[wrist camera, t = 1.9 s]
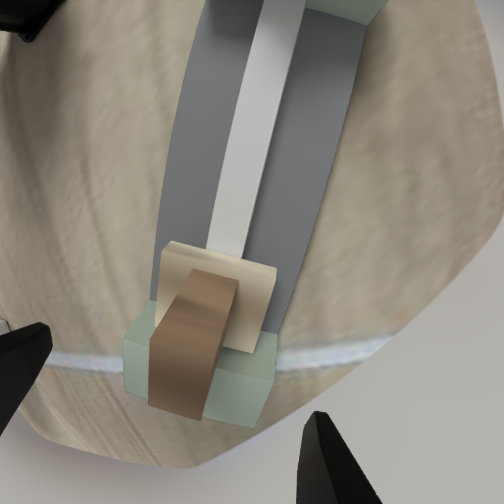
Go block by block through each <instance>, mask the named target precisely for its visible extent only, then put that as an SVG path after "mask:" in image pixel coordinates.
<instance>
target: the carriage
mask: <svg viewBox="0 0 504 504" xmlns="http://www.w3.org/2000/svg"><path fill="white" fill-rule="evenodd" d="M276 272H277V268H275V267H271V266H267V265H263V264H259V263H256V262H252V261H248V260H244V259H240V258H236V257H232V256H228V255H225V254H221V253H217V252H213V251H209V250H205V249H202V248H198V247H194V246H190V245H186V244H183V243H179V242H175V241H170V242H169V243H168V244H167V246H166V247H165V248H164V249H163V250H162V252H161V261H160V270H159V280H158V290H157V301H156V313H155V327H157V328H156V330H155V331H154V333H153V335H152V336H151V338H150V343H149V370H148V405H150V406H153V407H156V408H159V409H162V410H165V411H168V412H171V413H174V414H178V415H181V416H184V417H188V418H191V419H195V420H199V421H201V418H202V414H203V411H204V408H205V404H206V401H207V397H208V394H209V390H210V387H211V383H212V380H213V377H214V373H215V370H216V366H217V363H218V359H219V356H220V353H221V349H222V346H224V347H228V348H232V349H236V350H240V351H244V352H248V353H252V354H253V352H254V349H255V346H256V342H257V339H258V336H259V333H260V330H261V327H262V324H263V320H264V317H265V314H266V311H267V308H268V304H269V301H270V298H271V295H272V291H273V288H274V285H275V282H276Z"/></svg>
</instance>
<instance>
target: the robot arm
mask: <svg viewBox="0 0 504 504" xmlns="http://www.w3.org/2000/svg"><path fill="white" fill-rule="evenodd" d="M62 1H63V0H0V31H6V32H13V33H18V35H19V36H20V37H21V38H22V40H23V41H24V42H26V43H31V42H32V41H33V40H34V38H35V37H36V35H37V34H38V32H39V31H40V30H41V28H42V27H43V26H44V24H45V23H46V22H47V20H48V19H49V18H50V16H51V15H52V14H53V12H54V11H55V10H56V9H57V7H58V6H59V5H60V4H61V3H62ZM29 36H30V37H29ZM52 347H53V342H52V336H51V331H50V328H49V326H48V325H46V324H44V323H41V322H37V323H34V324H32V325H29V326H26V327H23V328H20V329H17V330H14V331H11V332H8V333H5V334H2V335H0V436H1V434H2V433H3V431H4V429H5V428H6V426H7V424H8V423H9V421H10V419H11V418H12V416H13V415H14V413H15V411H16V410H17V408H18V407H19V405H20V403H21V402H22V400H23V399H24V397H25V396H26V394H27V393H28V391H29V390H30V388H31V387H32V385H33V383H34V382H35V380H36V378H37V376H38V374H39V372H40V371H41V369H42V367H43V365H44V363H45V361H46V359H47V358H48V356H49V354H50V352H51V350H52ZM296 494H297V495H296V504H383V503H382V502H381V500H380V498H379V497H378V495H376V492H375V491H374V489H373V487H372V486H371V484H370V482H369V481H368V479H367V478H366V476H365V474H364V473H363V471H362V469H361V468H360V466H359V465H358V463H357V461H356V460H355V458H354V456H353V455H352V453H351V452H350V450H349V448H348V447H347V445H346V443H345V442H344V440H343V439H342V437H341V435H340V433H339V432H338V430H337V428H336V427H335V425H334V423H333V422H332V420H331V418H330V417H329V415H328V414H327V413H326V412H320V411H314V412H313V413H312V415H311V416H310V418H309V420H308V422H307V423H306V424H305V426H304V430H303V436H302V443H301V450H300V456H299V463H298V470H297V493H296Z"/></svg>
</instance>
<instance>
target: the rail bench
mask: <svg viewBox="0 0 504 504" xmlns="http://www.w3.org/2000/svg"><path fill="white" fill-rule="evenodd" d="M387 1H388V0H206V1H205V4H204V7H203V10H202V13H201V17H200V20H199V24H198V27H197V30H196V34H195V38H194V41H193V45H192V49H191V52H190V56H189V60H188V64H187V68H186V72H185V76H184V80H183V84H182V89H181V93H180V98H179V102H178V107H177V111H176V116H175V121H174V126H173V131H172V136H171V141H170V147H169V152H168V158H167V164H166V170H165V176H164V182H163V188H162V195H161V202H160V209H159V217H158V224H157V232H156V241H155V250H154V259H153V269H152V280H151V293H150V301H149V302H148V303H147V305H146V306H145V307H144V309H143V310H142V312H141V313H140V314H139V316H138V317H137V319H136V320H135V321H134V323H133V324H132V326H131V327H130V328H129V330H128V331H127V333H126V334H125V336H124V337H123V338H122V340H123V368H124V386H125V392H127V393H130V394H133V395H136V396H138V397H141V398H144V399H147V400H148V370H149V343H150V338H151V336H152V335H153V333H154V331H155V330H156V328H157V327H155V313H156V301H157V290H158V280H159V270H160V261H161V252H162V250H163V249H164V248H165V247H166V246H167V244H168V243H169V242H170V241H175V242H179V243H183V244H186V245H190V246H194V247H198V248H202V249H205V250H209V251H213V252H217V253H221V254H225V255H228V256H232V257H236V258H240V259H244V260H248V261H252V262H256V263H259V264H263V265H267V266H271V267H275V268H277V272H276V282H275V285H274V288H273V291H272V295H271V298H270V301H269V304H268V308H267V311H266V314H265V317H264V320H263V324H262V327H261V330H260V333H259V336H258V339H257V342H256V346H255V349H254V352H253V354H252V353H248V352H244V351H240V350H236V349H232V348H228V347H224V346H222V349H221V353H220V356H219V359H218V363H217V366H216V370H215V373H214V377H213V380H212V383H211V387H210V390H209V394H208V397H207V401H206V404H205V408H204V411H203V414H202V417H206V418H209V419H213V420H217V421H221V422H225V423H230V424H234V425H238V426H243V427H247V428H252V429H254V427H255V425H256V423H257V420H258V418H259V416H260V414H261V411H262V409H263V407H264V404H265V402H266V400H267V398H268V395H269V393H270V391H271V388H272V386H273V383H274V379H275V365H276V351H277V337H278V332H279V329H280V327H281V324H282V321H283V318H284V315H285V312H286V309H287V307H288V304H289V301H290V298H291V295H292V292H293V289H294V286H295V283H296V280H297V277H298V274H299V271H300V268H301V265H302V262H303V259H304V256H305V253H306V249H307V246H308V243H309V240H310V237H311V234H312V230H313V227H314V224H315V221H316V218H317V214H318V211H319V208H320V204H321V201H322V198H323V194H324V191H325V188H326V184H327V181H328V177H329V174H330V170H331V167H332V163H333V160H334V156H335V153H336V149H337V145H338V142H339V138H340V134H341V131H342V127H343V123H344V119H345V116H346V112H347V108H348V104H349V100H350V96H351V92H352V88H353V84H354V80H355V76H356V72H357V67H358V63H359V59H360V55H361V50H362V46H363V41H364V37H365V32H366V28H367V25H368V24H369V23H370V21H371V20H372V19H373V18H374V17H375V15H376V14H377V13H378V12H379V11H380V10H381V8H382V7H383V6H384V5H385V4H386V3H387Z"/></svg>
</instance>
